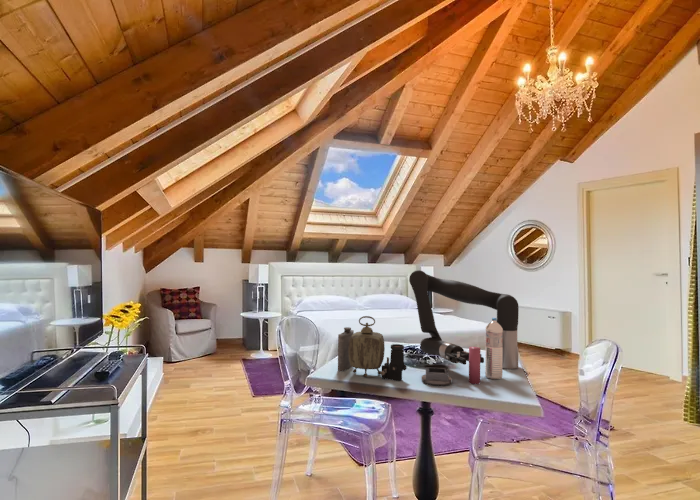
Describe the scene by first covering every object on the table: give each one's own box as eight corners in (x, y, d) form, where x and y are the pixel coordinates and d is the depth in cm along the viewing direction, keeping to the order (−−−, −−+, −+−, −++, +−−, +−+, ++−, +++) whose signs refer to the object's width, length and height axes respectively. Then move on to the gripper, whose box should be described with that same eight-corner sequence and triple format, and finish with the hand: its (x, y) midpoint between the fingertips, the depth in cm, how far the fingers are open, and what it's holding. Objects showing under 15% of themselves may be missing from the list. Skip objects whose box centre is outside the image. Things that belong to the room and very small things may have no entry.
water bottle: (500, 381, 171) (501, 319, 171) (483, 378, 174) (484, 318, 175) (503, 376, 177) (504, 317, 177) (487, 374, 180) (487, 316, 181)
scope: (386, 342, 178) (409, 344, 173) (386, 374, 177) (409, 378, 173) (379, 345, 170) (403, 348, 166) (379, 379, 170) (403, 383, 166)
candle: (479, 381, 170) (479, 346, 170) (480, 384, 166) (481, 349, 166) (468, 380, 171) (468, 346, 171) (469, 383, 166) (469, 348, 167)
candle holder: (450, 378, 174) (450, 367, 174) (453, 387, 162) (453, 375, 162) (421, 376, 176) (421, 365, 176) (421, 385, 164) (421, 373, 164)
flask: (355, 364, 194) (356, 325, 195) (344, 372, 181) (345, 330, 181) (348, 363, 196) (348, 324, 196) (336, 371, 182) (337, 329, 182)
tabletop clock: (384, 374, 179) (385, 315, 179) (382, 380, 170) (383, 318, 170) (351, 371, 181) (351, 314, 182) (347, 377, 172) (348, 317, 173)
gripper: (437, 344, 181) (459, 353, 166) (465, 342, 186) (489, 350, 171) (437, 362, 181) (459, 372, 166) (464, 359, 186) (488, 369, 171)
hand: (474, 361), depth 168 cm, fingers open, 8 cm apart
